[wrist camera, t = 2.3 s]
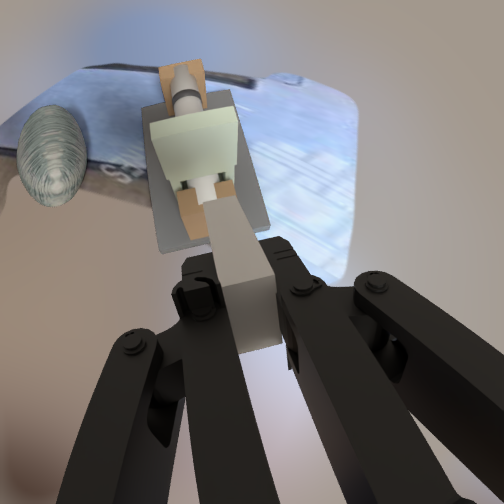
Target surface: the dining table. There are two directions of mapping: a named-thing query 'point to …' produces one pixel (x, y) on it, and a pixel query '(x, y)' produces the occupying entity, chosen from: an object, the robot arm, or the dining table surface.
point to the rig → (202, 188)
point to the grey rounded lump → (51, 156)
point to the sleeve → (197, 146)
